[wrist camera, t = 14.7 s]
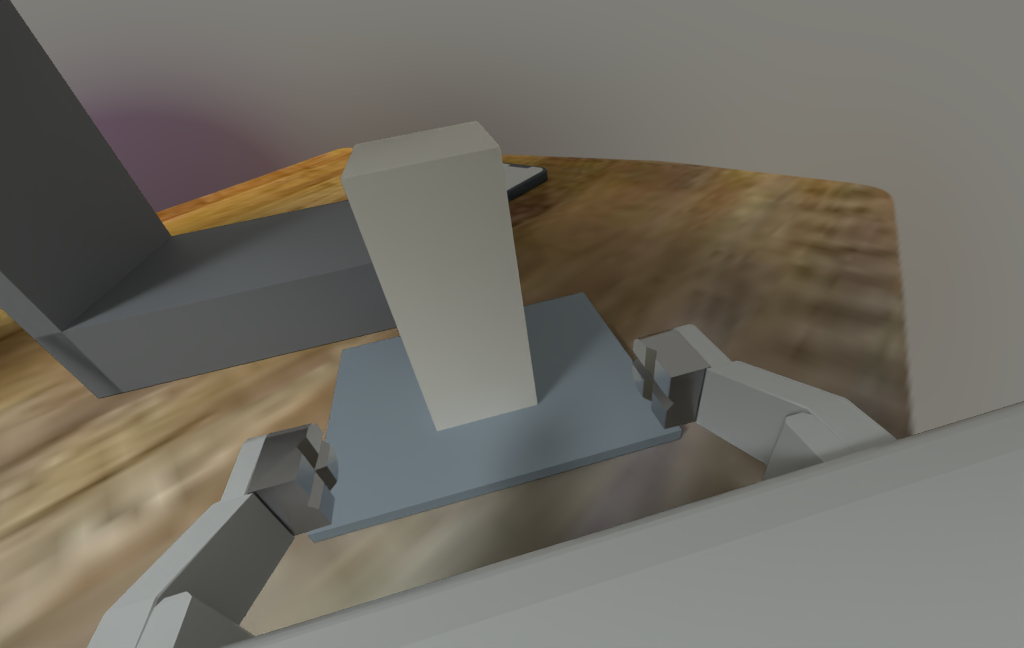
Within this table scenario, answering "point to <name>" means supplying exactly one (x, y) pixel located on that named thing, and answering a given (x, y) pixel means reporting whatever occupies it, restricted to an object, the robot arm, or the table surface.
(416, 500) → the mat
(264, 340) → the grey c-shaped bracket
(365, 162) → the block
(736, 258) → the table surface
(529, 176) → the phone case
